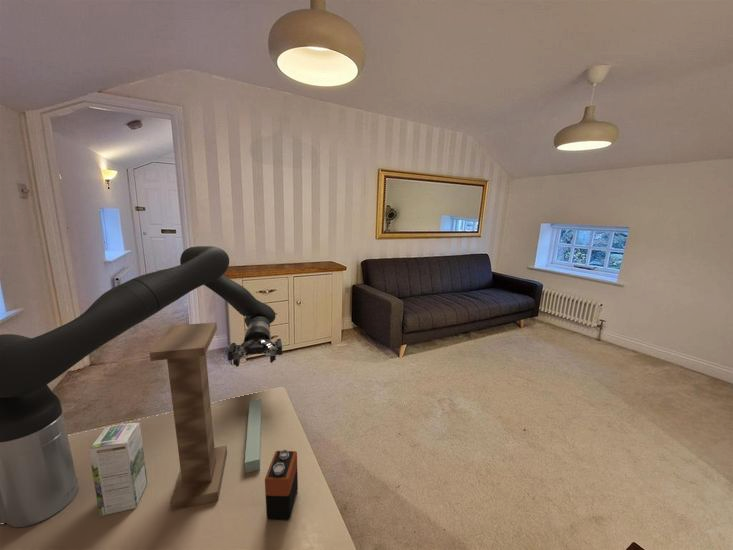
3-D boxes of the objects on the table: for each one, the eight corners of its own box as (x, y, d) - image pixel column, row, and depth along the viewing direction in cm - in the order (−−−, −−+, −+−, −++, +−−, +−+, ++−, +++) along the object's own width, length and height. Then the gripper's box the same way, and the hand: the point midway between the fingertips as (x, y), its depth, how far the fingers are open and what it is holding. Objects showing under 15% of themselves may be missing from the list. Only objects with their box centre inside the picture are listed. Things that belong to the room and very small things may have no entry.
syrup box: (114, 489, 60) (103, 426, 57) (149, 482, 61) (139, 420, 58) (99, 517, 54) (85, 449, 51) (137, 508, 56) (126, 442, 53)
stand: (171, 511, 56) (149, 352, 49) (188, 460, 67) (172, 325, 60) (218, 500, 58) (204, 347, 51) (227, 452, 69) (216, 322, 63)
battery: (265, 521, 55) (263, 475, 52) (277, 487, 61) (275, 445, 59) (289, 521, 55) (288, 476, 52) (298, 488, 61) (297, 446, 59)
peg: (245, 474, 64) (244, 462, 64) (250, 409, 85) (249, 400, 84) (260, 470, 65) (259, 459, 65) (261, 408, 86) (261, 398, 85)
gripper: (232, 327, 91) (223, 351, 76) (281, 323, 95) (282, 345, 80) (233, 350, 93) (226, 377, 78) (281, 345, 97) (283, 371, 82)
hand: (254, 361), depth 79 cm, fingers open, 8 cm apart
